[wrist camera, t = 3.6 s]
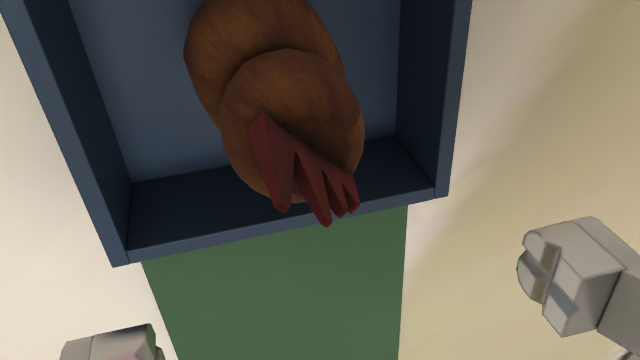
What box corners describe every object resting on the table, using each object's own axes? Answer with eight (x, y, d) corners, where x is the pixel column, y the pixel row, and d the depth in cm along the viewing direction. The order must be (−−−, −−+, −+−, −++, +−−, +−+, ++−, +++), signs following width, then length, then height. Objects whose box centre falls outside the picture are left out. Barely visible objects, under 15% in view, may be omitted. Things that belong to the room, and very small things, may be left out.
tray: (422, -178, 20) (496, -182, 16) (405, 140, 30) (448, 196, 25) (-7, -147, 18) (-68, -141, 13) (121, 194, 27) (112, 268, 22)
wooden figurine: (157, 2, 21) (146, 208, 10) (271, -65, 21) (406, 64, 9) (236, 118, 26) (297, 363, 14) (333, 64, 25) (481, 267, 13)
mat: (406, 169, 31) (410, 175, 30) (395, 356, 43) (397, 362, 42) (129, 224, 28) (128, 231, 28) (199, 409, 40) (200, 415, 39)
